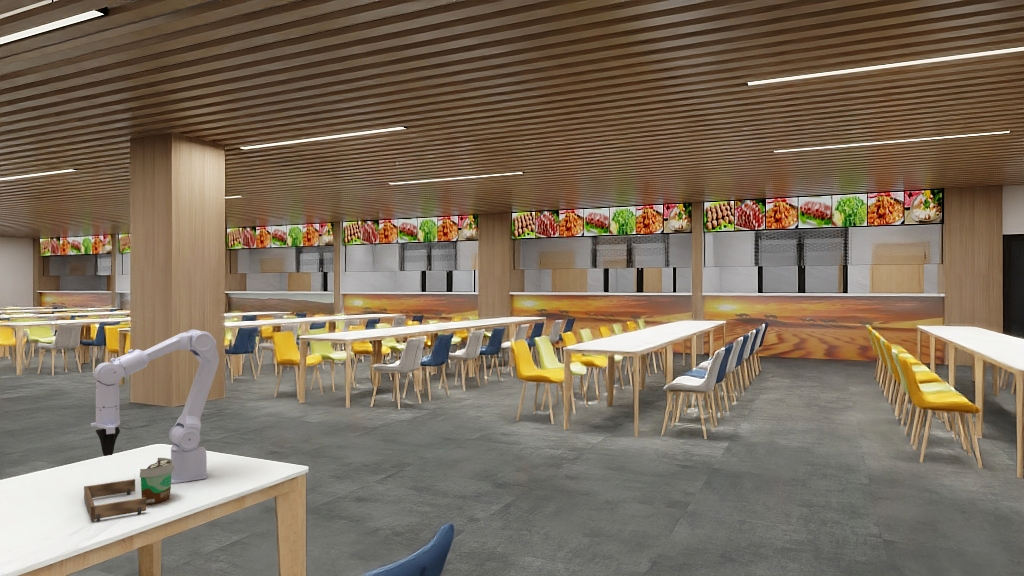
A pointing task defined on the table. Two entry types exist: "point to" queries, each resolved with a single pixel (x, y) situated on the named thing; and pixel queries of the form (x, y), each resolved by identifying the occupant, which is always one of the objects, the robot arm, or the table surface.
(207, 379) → the robot arm
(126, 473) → the table surface
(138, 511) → the wooden u-shaped frame
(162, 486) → the food container
